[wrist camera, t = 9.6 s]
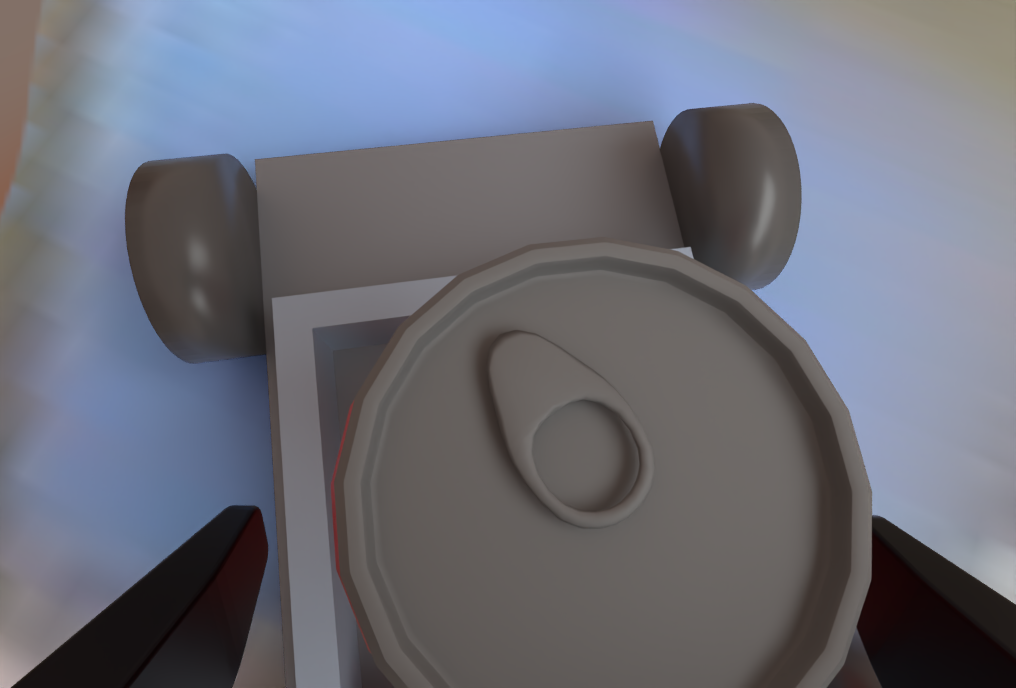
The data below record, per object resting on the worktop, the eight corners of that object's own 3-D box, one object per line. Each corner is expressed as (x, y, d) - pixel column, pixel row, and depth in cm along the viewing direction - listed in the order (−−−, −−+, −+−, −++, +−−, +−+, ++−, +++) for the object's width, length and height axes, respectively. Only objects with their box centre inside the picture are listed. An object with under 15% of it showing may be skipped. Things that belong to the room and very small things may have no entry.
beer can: (540, 346, 19) (661, 97, 7) (667, 521, 18) (1060, 568, 6) (362, 466, 17) (151, 402, 6) (487, 664, 16) (540, 1082, 5)
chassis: (869, 847, 17) (1069, 1021, 12) (249, 1000, 16) (121, 1299, 10) (685, 147, 23) (757, 31, 17) (217, 195, 21) (125, 83, 16)
